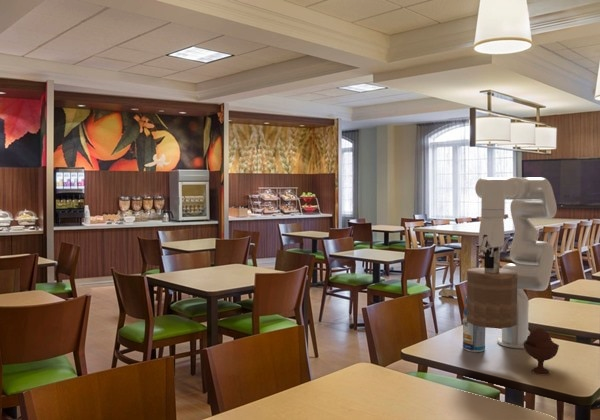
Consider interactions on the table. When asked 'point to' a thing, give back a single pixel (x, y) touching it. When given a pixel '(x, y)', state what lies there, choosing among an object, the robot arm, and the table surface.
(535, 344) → the ice cream bowl
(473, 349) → the beverage bottle
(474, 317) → the walnut cover
